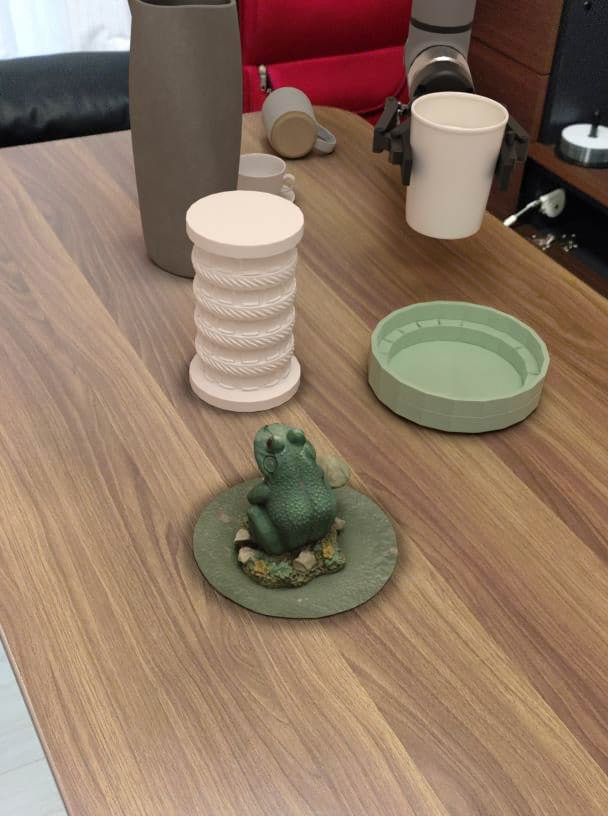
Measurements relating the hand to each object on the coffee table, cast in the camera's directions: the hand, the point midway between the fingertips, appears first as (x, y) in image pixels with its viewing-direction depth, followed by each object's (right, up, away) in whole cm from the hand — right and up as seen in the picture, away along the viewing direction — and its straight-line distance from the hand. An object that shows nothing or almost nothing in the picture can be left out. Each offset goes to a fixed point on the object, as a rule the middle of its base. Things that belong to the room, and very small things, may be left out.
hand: (456, 175), depth 98 cm
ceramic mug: (-16, +21, +46) cm, 53 cm away
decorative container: (-22, -20, +4) cm, 30 cm away
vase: (-29, -3, +21) cm, 36 cm away
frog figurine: (-16, -37, -13) cm, 42 cm away
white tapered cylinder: (0, -2, +8) cm, 9 cm away
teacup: (-22, +9, +34) cm, 41 cm away
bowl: (0, -20, +5) cm, 21 cm away
